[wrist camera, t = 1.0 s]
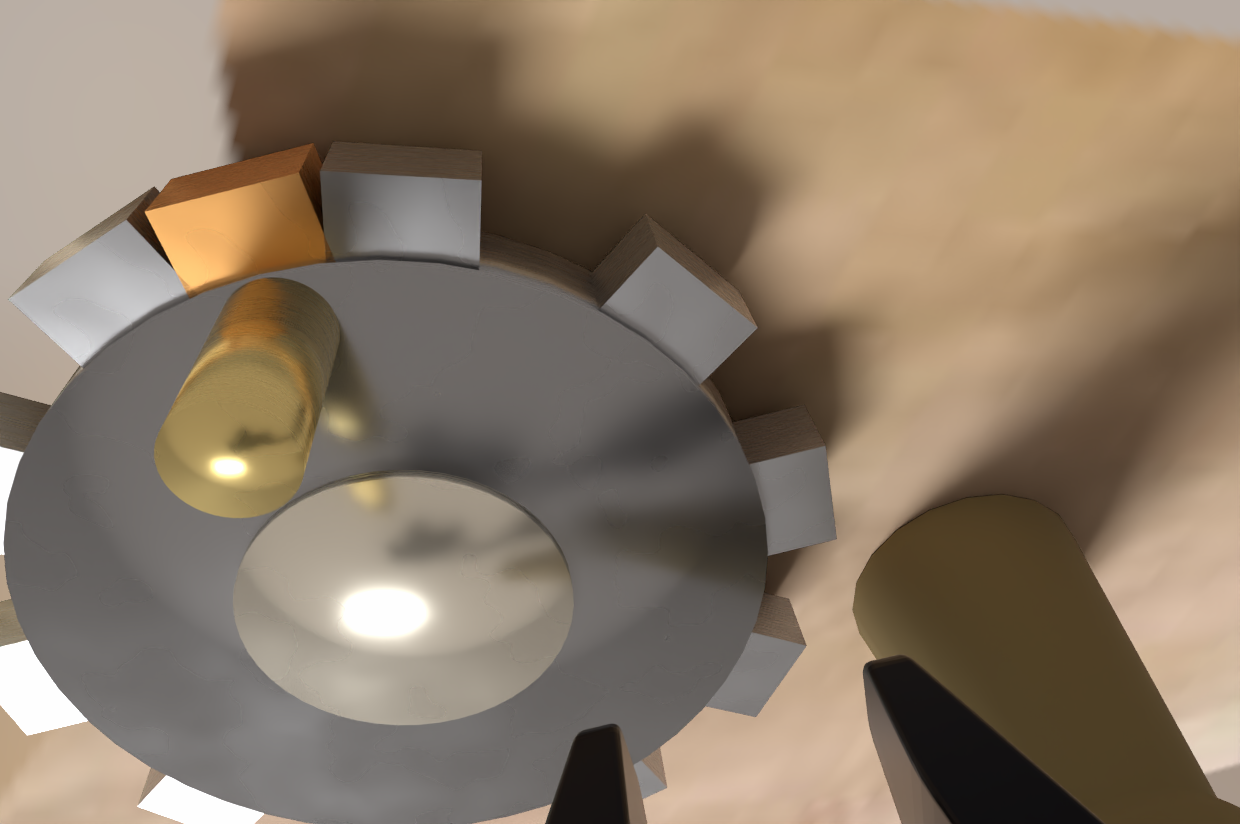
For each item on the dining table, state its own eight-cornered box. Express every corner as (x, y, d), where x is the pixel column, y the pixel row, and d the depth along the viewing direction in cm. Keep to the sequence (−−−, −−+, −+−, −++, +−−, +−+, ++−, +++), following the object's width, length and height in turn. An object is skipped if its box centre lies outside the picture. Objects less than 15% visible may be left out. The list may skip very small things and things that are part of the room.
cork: (939, 465, 23) (1235, 903, 14) (1122, 532, 25) (1487, 956, 16) (809, 637, 26) (987, 1099, 17) (985, 686, 28) (1229, 1124, 19)
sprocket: (753, 29, 17) (864, 127, 12) (842, 706, 27) (922, 913, 22) (-254, 283, 17) (-555, 482, 12) (204, 859, 28) (141, 1097, 23)
